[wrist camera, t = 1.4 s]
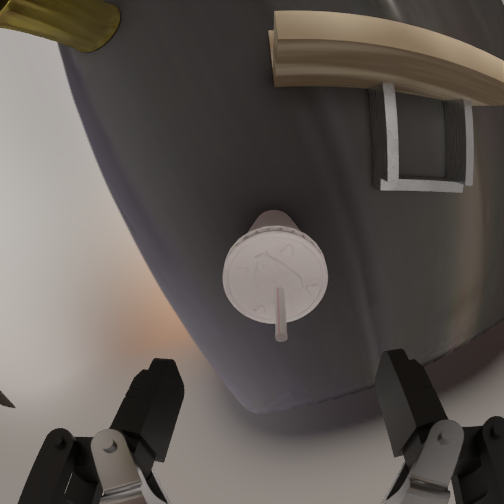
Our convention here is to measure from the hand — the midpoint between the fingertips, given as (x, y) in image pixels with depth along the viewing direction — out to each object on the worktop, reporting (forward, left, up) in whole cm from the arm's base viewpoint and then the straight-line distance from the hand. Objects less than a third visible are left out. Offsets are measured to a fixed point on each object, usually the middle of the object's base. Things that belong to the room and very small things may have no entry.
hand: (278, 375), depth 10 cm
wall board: (-15, +11, -17) cm, 25 cm away
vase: (-24, -16, -17) cm, 34 cm away
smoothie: (0, 0, -17) cm, 17 cm away
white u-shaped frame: (-8, +14, -17) cm, 23 cm away
